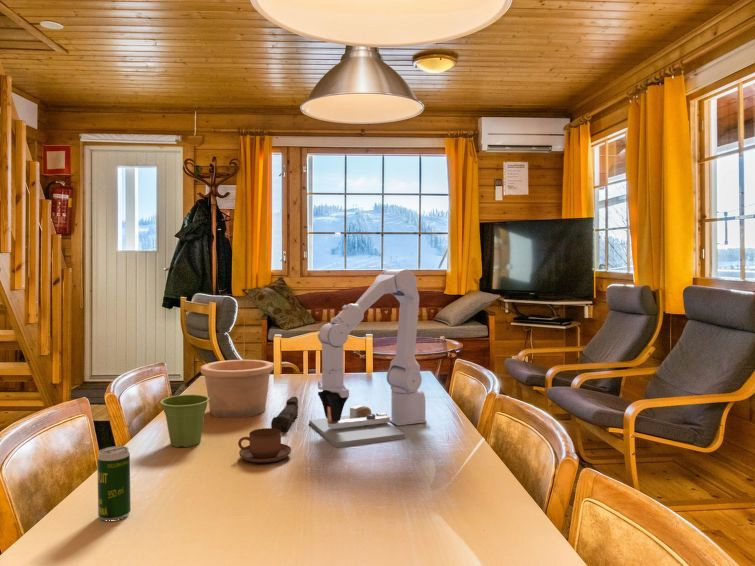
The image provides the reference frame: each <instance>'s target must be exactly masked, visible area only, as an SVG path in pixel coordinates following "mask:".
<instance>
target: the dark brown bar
mask: <svg viewBox="0 0 755 566" xmlns="http://www.w3.org/2000/svg"><path fill="white" fill-rule="evenodd" d="M285 404H286V405H285V406H284V408H283V409H282V410H281V411H280V412H279V413H278V415H276V416H274V417H273V418H272V420H271V424H270V426H271V427H270V428H273V429H278V430H280V431H281V434H282V433H283V434H284V433H287V432H288V430H289V427H290V425H291V423H292V422H293V420H294V419H296V418H298V414H299V399H298V397H297V396H291V397H290V398H289V399H287V400H286V403H285Z"/></svg>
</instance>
